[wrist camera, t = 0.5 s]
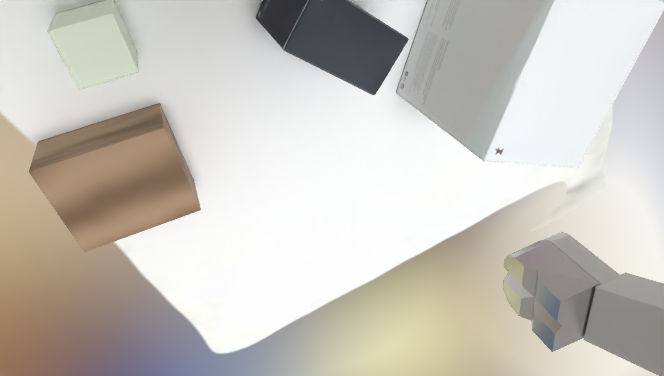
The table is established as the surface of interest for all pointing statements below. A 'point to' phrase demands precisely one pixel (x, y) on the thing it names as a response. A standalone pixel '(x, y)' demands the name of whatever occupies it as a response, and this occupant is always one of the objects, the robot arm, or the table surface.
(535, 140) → the supplement box
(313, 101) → the table surface
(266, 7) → the small box
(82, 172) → the walnut block
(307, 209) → the table surface
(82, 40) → the sage block
